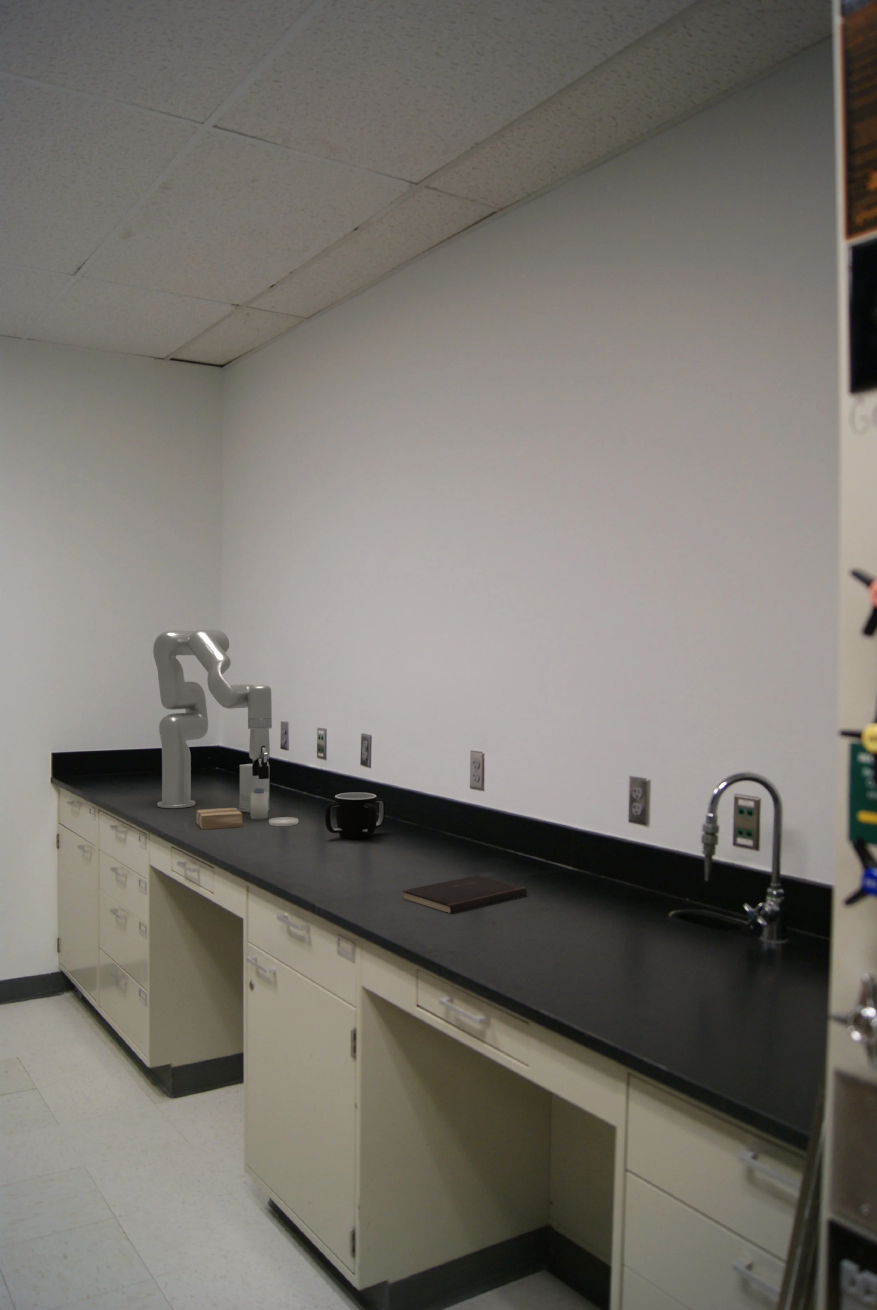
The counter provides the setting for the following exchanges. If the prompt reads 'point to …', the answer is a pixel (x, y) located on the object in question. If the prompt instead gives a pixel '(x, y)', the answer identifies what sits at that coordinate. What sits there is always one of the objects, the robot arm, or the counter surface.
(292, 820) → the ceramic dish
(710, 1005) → the counter surface
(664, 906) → the counter surface
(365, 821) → the mug
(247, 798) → the skincare box
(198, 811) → the oak slab
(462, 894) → the hardcover book
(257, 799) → the reagent bottle
